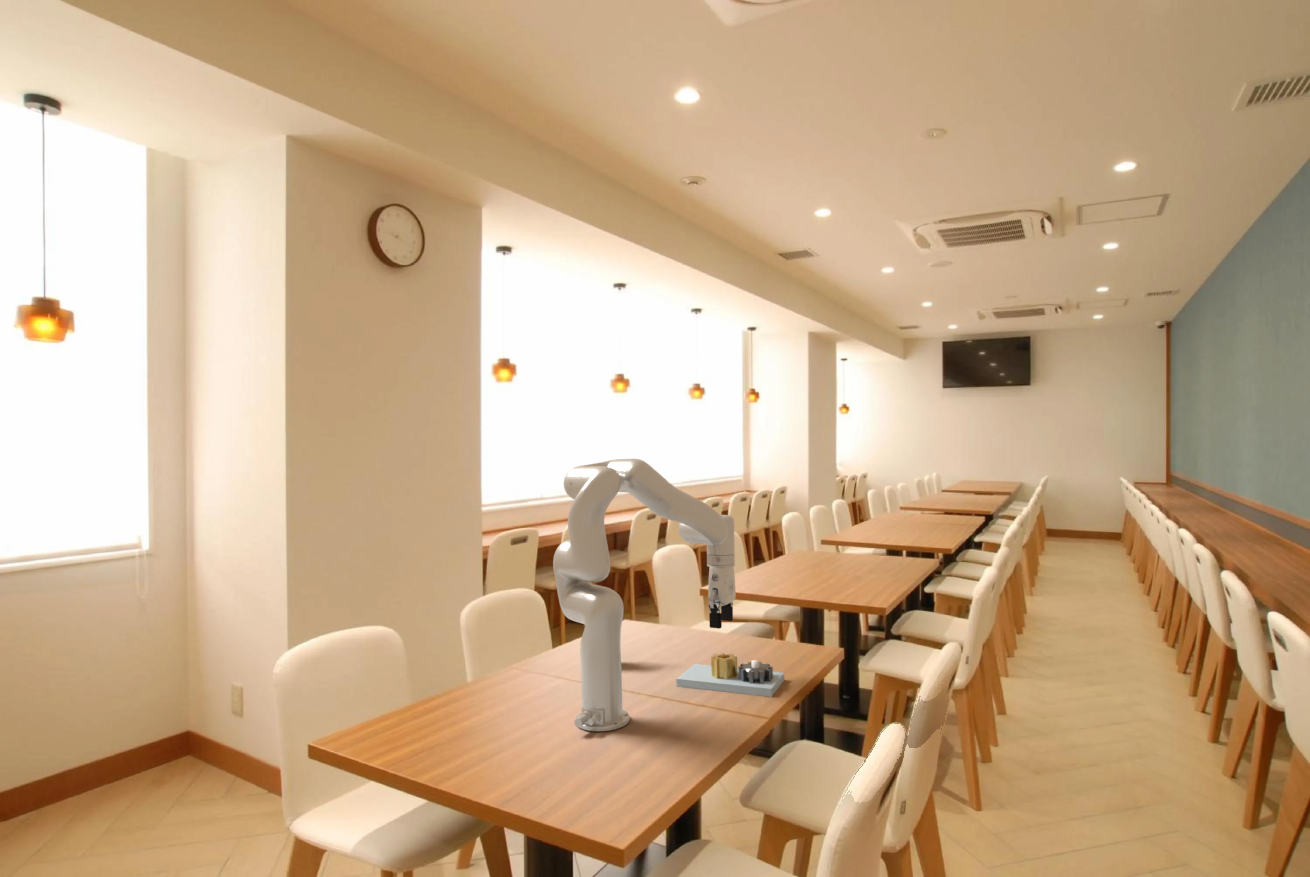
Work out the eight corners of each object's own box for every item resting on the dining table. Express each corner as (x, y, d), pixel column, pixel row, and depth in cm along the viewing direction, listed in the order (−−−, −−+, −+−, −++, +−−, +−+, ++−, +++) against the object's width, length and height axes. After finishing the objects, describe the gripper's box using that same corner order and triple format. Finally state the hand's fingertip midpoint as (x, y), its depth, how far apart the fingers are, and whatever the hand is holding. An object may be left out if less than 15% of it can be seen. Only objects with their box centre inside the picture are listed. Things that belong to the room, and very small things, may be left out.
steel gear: (767, 685, 182) (767, 673, 182) (734, 681, 186) (734, 670, 186) (776, 674, 190) (775, 663, 190) (744, 671, 194) (744, 660, 194)
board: (771, 696, 179) (770, 671, 179) (676, 686, 190) (675, 661, 190) (784, 680, 192) (783, 655, 192) (694, 671, 202) (694, 648, 203)
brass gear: (732, 680, 187) (732, 661, 187) (708, 677, 190) (707, 659, 190) (740, 672, 193) (739, 654, 193) (716, 670, 196) (716, 652, 196)
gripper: (724, 565, 183) (724, 632, 182) (743, 557, 199) (743, 619, 198) (696, 563, 186) (697, 629, 185) (717, 556, 202) (718, 616, 201)
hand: (721, 624), depth 191 cm, fingers open, 9 cm apart
